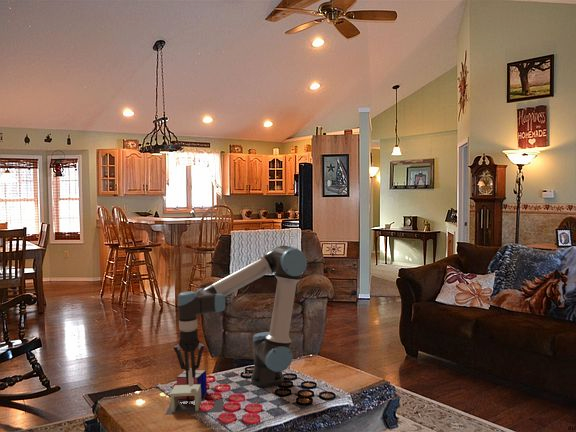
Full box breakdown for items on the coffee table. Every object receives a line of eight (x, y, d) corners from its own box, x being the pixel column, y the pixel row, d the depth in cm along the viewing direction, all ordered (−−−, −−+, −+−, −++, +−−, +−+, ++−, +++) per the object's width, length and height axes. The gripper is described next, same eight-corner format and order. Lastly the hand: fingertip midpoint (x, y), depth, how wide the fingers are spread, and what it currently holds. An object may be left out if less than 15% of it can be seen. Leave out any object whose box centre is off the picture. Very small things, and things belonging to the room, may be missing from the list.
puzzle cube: (199, 400, 223) (198, 377, 223) (177, 399, 225) (176, 376, 225) (207, 392, 233) (206, 370, 233) (186, 391, 235) (185, 369, 235)
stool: (200, 384, 222) (174, 385, 221) (197, 392, 213) (170, 393, 212) (201, 401, 222) (175, 402, 222) (198, 410, 213) (171, 412, 213)
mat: (225, 399, 224) (224, 398, 224) (221, 412, 211) (221, 411, 211) (171, 402, 224) (171, 401, 224) (165, 415, 211) (165, 414, 211)
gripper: (205, 326, 219) (208, 380, 221) (174, 327, 219) (177, 382, 221) (202, 331, 212) (205, 387, 213) (170, 332, 212) (173, 389, 213)
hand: (191, 384), depth 217 cm, fingers closed
